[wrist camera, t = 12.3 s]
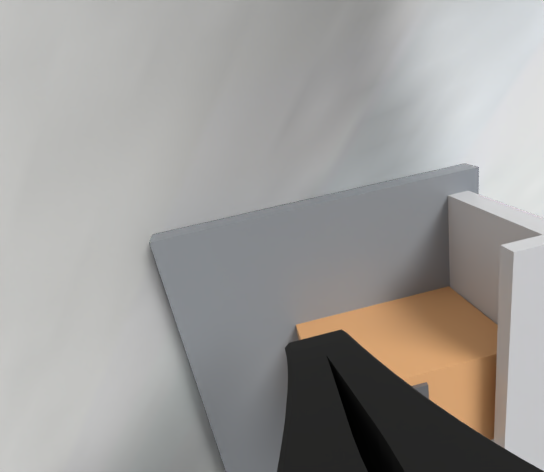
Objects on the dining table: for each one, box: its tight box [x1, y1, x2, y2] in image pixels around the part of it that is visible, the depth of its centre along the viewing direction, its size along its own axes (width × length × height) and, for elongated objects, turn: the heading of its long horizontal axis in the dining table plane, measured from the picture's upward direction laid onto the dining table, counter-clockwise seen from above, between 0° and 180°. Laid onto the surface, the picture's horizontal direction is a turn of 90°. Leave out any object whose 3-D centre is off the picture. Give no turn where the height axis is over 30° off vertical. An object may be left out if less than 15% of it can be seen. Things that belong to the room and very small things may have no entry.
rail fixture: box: [149, 164, 544, 472], centre depth 18 cm, size 15×22×7 cm
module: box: [296, 286, 498, 440], centre depth 17 cm, size 8×4×5 cm, turn 101°
